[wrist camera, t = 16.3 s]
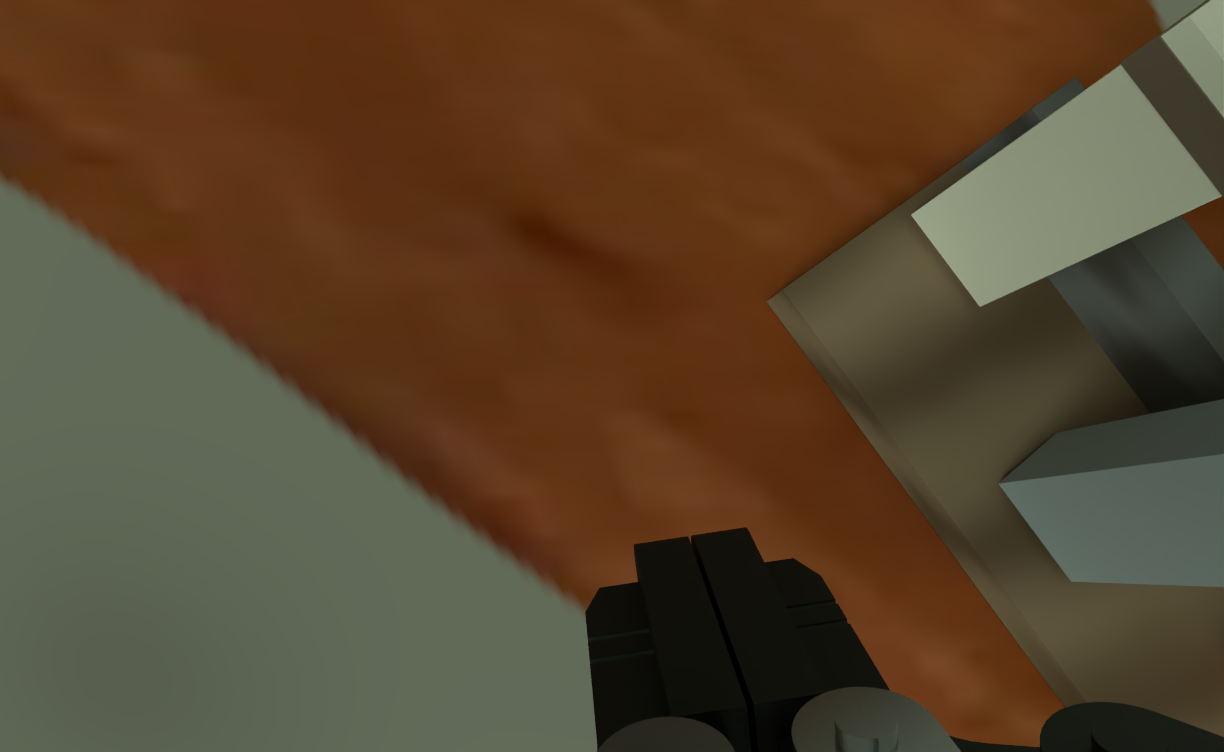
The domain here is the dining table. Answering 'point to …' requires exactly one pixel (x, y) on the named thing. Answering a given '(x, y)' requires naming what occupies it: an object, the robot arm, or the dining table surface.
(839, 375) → the dark grey block stand
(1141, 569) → the slate key
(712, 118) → the dining table surface
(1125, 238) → the white tall block
